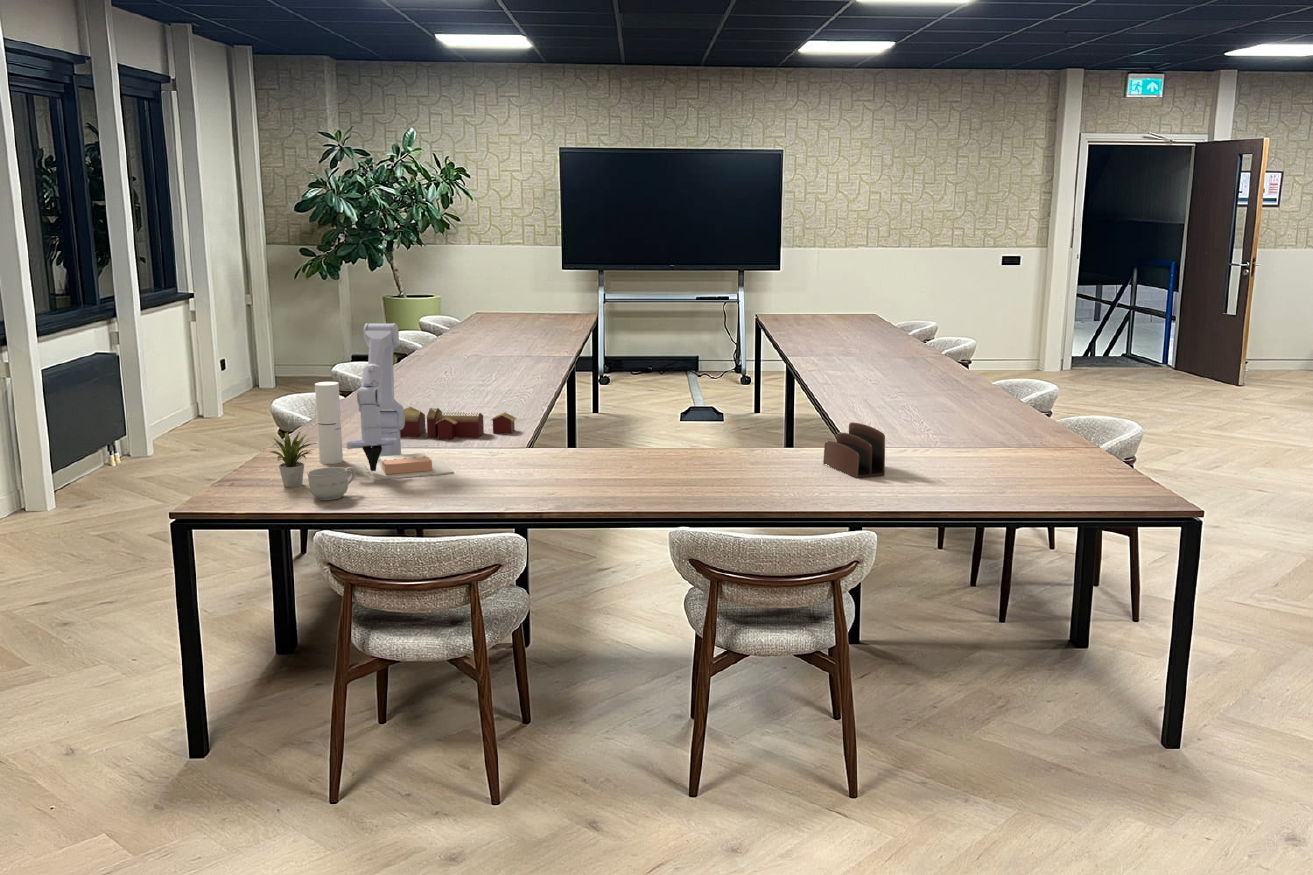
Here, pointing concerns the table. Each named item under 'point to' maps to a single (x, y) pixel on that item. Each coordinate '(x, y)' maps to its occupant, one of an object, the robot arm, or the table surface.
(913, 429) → the table surface
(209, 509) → the table surface
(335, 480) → the teacup
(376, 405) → the robot arm
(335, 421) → the cylindrical container
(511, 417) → the toy houses
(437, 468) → the mat
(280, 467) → the house plant
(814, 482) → the table surface
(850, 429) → the letter holder
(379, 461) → the ticket book
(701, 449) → the table surface
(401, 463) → the stub
